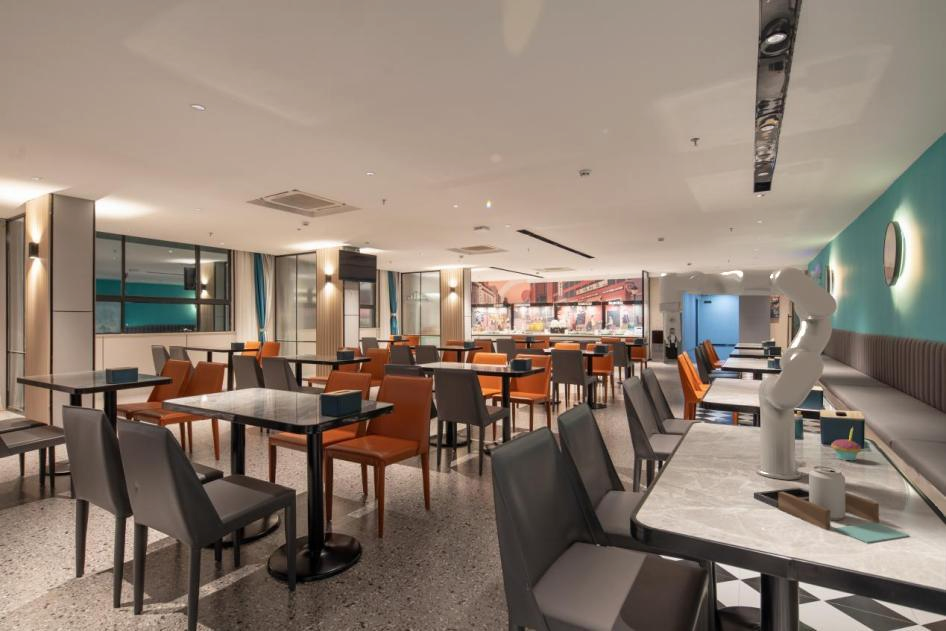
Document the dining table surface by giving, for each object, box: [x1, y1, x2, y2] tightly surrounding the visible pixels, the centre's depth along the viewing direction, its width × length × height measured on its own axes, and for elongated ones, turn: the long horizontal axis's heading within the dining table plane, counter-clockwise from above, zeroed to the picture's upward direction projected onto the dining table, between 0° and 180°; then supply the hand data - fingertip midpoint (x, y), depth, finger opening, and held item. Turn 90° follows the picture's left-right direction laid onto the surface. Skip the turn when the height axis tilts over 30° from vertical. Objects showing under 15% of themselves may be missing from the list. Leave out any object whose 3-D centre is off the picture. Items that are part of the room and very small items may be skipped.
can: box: [808, 465, 846, 521], centre depth 126 cm, size 8×8×12 cm
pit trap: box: [753, 487, 809, 509], centre depth 136 cm, size 16×8×2 cm, turn 105°
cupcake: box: [830, 426, 862, 461], centre depth 176 cm, size 9×8×12 cm
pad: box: [833, 522, 910, 544], centre depth 115 cm, size 13×8×1 cm, turn 105°
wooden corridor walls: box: [778, 491, 880, 531], centre depth 126 cm, size 17×13×4 cm
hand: (671, 358), depth 170 cm, fingers open, 9 cm apart
